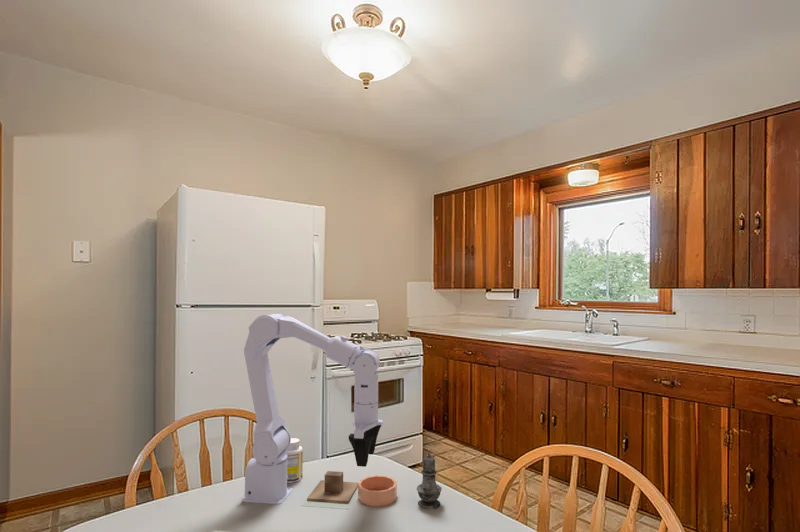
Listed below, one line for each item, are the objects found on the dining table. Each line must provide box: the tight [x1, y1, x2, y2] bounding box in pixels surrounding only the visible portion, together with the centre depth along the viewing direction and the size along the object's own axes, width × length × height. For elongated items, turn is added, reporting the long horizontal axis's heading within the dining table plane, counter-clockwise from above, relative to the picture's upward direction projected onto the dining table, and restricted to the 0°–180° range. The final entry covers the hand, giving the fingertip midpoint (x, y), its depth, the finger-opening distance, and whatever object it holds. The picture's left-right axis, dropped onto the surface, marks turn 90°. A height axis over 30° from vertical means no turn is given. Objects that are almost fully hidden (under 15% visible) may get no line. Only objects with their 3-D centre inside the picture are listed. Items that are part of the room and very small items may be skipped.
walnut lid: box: [306, 470, 359, 504], centre depth 111 cm, size 10×10×5 cm
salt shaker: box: [416, 451, 442, 511], centre depth 106 cm, size 6×6×12 cm
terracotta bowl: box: [357, 475, 398, 507], centre depth 109 cm, size 9×9×4 cm
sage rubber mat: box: [301, 479, 360, 510], centre depth 111 cm, size 11×14×1 cm
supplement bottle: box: [286, 437, 304, 484], centre depth 120 cm, size 6×6×10 cm
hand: (365, 459), depth 108 cm, fingers open, 7 cm apart
